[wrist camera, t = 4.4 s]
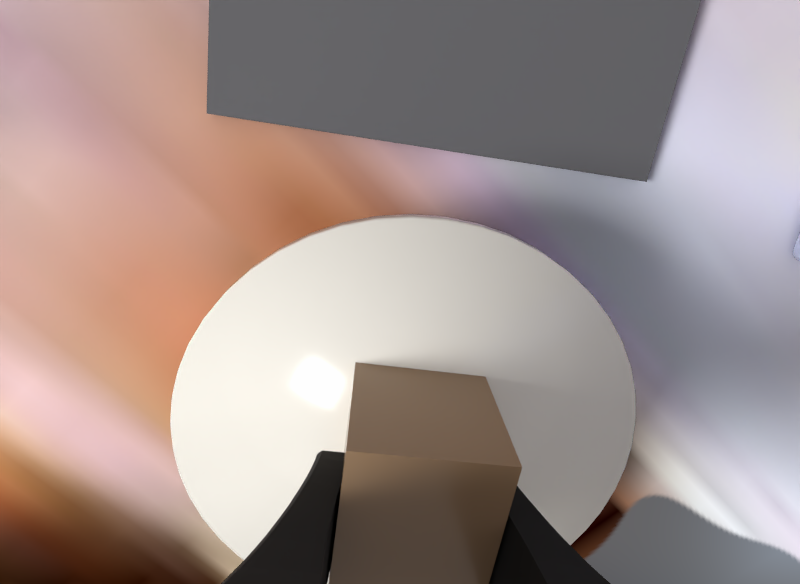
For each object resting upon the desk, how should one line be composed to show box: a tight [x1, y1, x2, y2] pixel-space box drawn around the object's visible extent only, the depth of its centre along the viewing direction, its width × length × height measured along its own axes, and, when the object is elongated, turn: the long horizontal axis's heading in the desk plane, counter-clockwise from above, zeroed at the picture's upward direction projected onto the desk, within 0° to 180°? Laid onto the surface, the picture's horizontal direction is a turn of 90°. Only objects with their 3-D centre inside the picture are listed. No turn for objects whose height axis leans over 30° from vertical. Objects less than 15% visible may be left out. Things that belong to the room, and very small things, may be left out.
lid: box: [170, 214, 636, 584], centre depth 12 cm, size 13×13×4 cm
